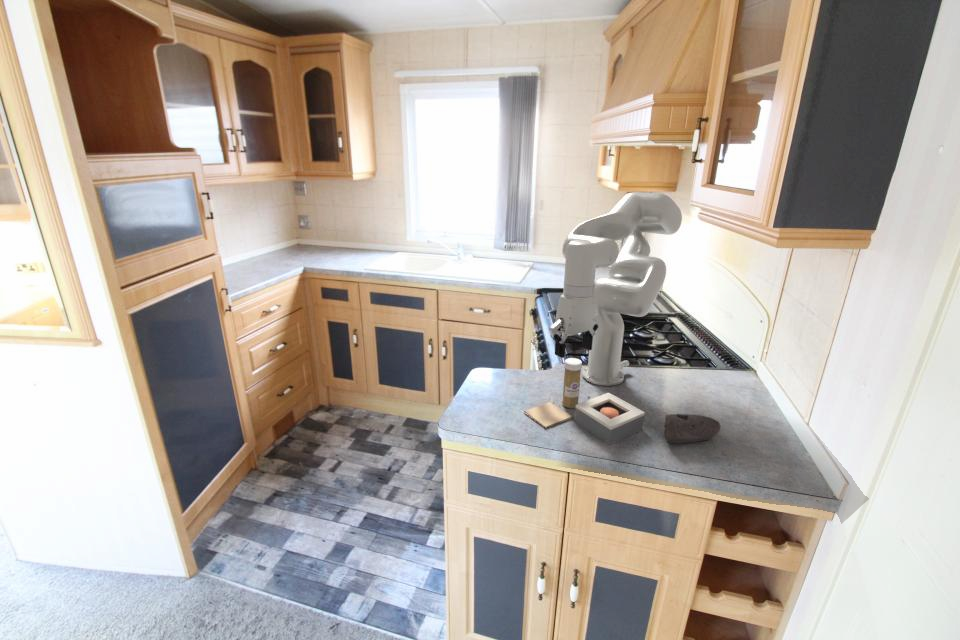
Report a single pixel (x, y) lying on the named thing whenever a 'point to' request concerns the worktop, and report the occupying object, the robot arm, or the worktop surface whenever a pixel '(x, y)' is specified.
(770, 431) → the worktop surface
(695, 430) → the perforated stone tool
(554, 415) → the coaster
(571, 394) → the sprinkles bottle
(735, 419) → the worktop surface
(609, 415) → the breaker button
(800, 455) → the worktop surface
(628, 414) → the grey square open box
